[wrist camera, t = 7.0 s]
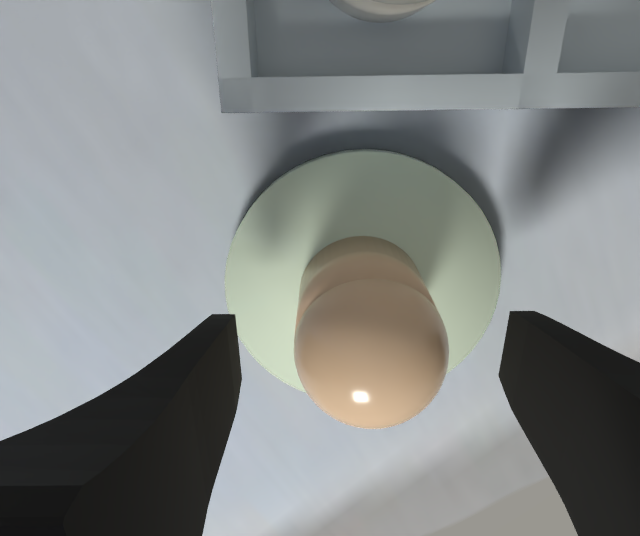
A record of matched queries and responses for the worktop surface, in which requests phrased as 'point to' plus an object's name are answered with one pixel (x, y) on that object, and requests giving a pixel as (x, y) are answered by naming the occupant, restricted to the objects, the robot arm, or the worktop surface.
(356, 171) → the saucer
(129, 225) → the worktop surface
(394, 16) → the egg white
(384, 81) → the carton
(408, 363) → the egg brown
